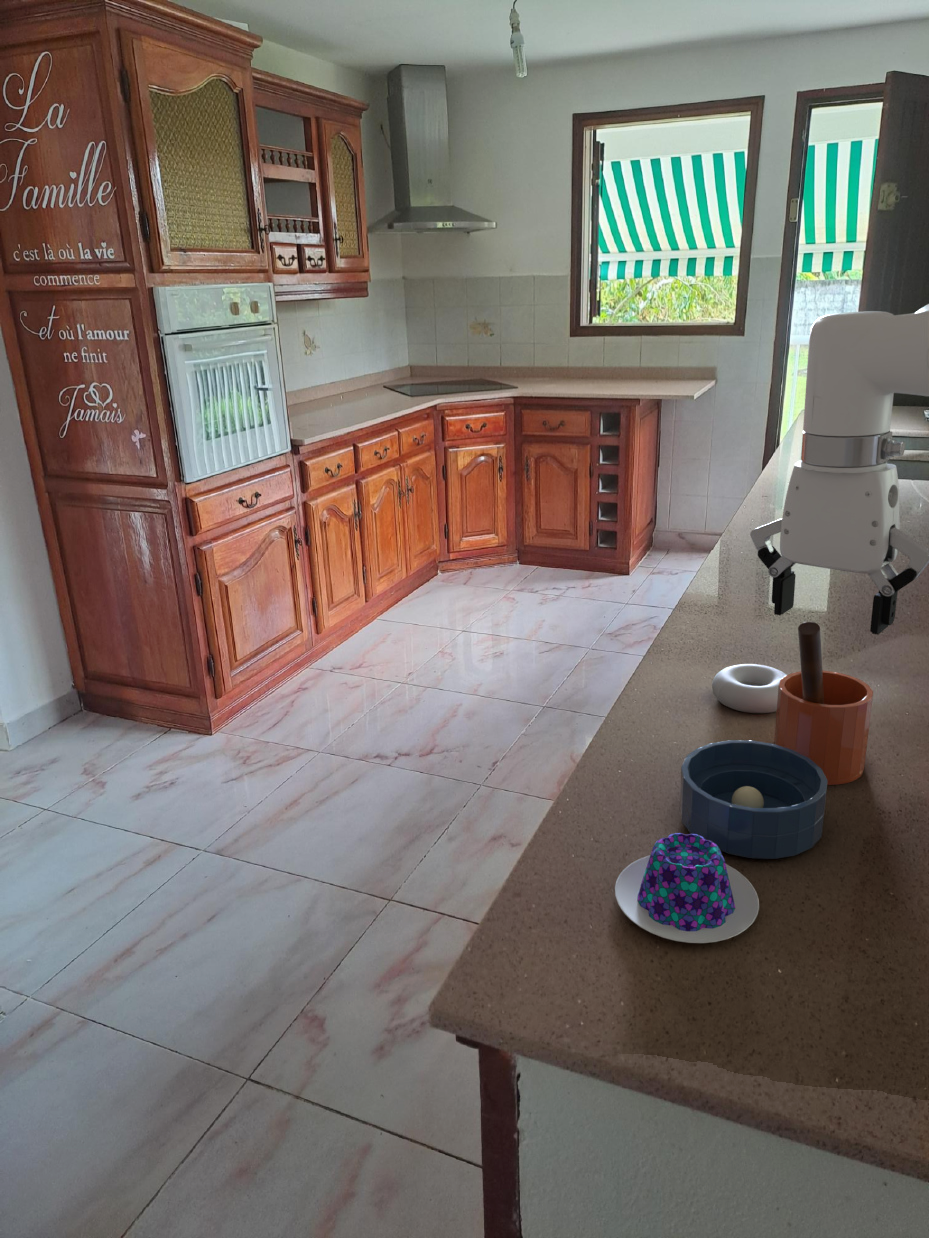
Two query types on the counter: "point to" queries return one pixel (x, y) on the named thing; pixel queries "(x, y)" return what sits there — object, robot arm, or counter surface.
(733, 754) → the bowl
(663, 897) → the pudding
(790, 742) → the crock
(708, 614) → the counter surface
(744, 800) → the dough ball
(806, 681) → the stick
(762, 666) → the donut
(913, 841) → the counter surface
